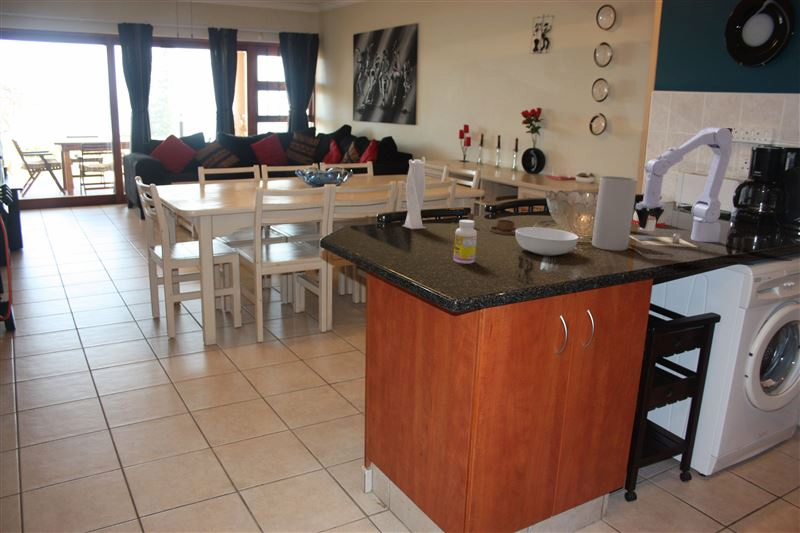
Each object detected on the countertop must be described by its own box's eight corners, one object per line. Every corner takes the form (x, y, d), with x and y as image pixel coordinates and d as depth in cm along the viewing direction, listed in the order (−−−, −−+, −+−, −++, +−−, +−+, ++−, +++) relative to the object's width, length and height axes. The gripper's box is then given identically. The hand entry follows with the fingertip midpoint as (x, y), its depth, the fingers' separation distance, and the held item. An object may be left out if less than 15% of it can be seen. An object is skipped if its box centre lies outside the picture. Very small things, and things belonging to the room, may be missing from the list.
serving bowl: (564, 263, 204) (567, 242, 202) (504, 252, 214) (506, 232, 213) (583, 252, 221) (586, 233, 219) (526, 243, 232) (528, 224, 230)
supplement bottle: (451, 258, 202) (454, 218, 199) (472, 259, 203) (475, 219, 199) (455, 263, 196) (458, 222, 192) (476, 264, 196) (479, 223, 193)
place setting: (498, 238, 240) (499, 222, 238) (463, 228, 255) (464, 213, 254) (531, 234, 250) (532, 220, 248) (495, 225, 265) (497, 211, 264)
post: (677, 242, 239) (678, 233, 238) (680, 244, 237) (681, 234, 236) (671, 242, 239) (672, 233, 238) (673, 243, 237) (675, 234, 236)
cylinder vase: (611, 252, 223) (621, 181, 217) (584, 245, 233) (593, 176, 227) (634, 249, 230) (645, 180, 223) (607, 242, 240) (616, 176, 233)
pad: (651, 237, 247) (651, 236, 247) (660, 241, 240) (660, 240, 240) (631, 236, 247) (631, 235, 247) (639, 240, 239) (639, 239, 239)
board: (677, 241, 249) (678, 237, 249) (697, 250, 234) (697, 246, 233) (627, 239, 248) (627, 235, 248) (643, 248, 233) (644, 244, 232)
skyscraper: (428, 229, 248) (433, 156, 241) (411, 230, 243) (416, 156, 236) (416, 225, 254) (420, 154, 247) (399, 226, 250) (403, 154, 243)
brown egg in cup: (650, 228, 245) (652, 215, 244) (656, 231, 240) (658, 218, 239) (637, 228, 245) (639, 215, 243) (643, 230, 240) (645, 217, 239)
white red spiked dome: (629, 220, 294) (633, 187, 290) (660, 222, 292) (665, 189, 288) (635, 225, 280) (640, 191, 276) (668, 228, 279) (673, 193, 275)
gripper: (649, 193, 232) (643, 230, 235) (674, 192, 239) (668, 228, 243) (633, 191, 238) (627, 226, 241) (658, 190, 245) (652, 224, 248)
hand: (647, 227), depth 242 cm, fingers closed on brown egg in cup, 5 cm apart
